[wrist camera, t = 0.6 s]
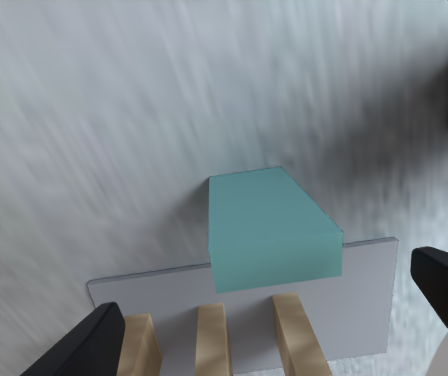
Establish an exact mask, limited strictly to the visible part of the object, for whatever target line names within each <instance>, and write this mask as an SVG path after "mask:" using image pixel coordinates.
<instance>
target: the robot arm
mask: <svg viewBox="0 0 448 376" xmlns="http://www.w3.org/2000/svg"><path fill="white" fill-rule="evenodd" d="M410 272H411V276H412V278H413V280H414V282H415V283H416V285H417V286H418V287H419V289H420V290H421V292H422V293H423V295H424V296H425V297H426V299H427V300H428V302H429V303H430V305H431V306H432V307H433V309H434V310H435V312H436V313H437V315H438V316H439V317H440V319H441V320H442V322H443V323H444V324H445V326H446V327H447V328H448V252H445V251H442V250H439V249H436V248H433V247H429V246H426V247H420V248H415V249H413V251H412V255H411V269H410ZM125 328H126V324H125V320H124V317H123V315H122V313H121V310H120V308H119V306H118V304H117V303H116V302H114V301H112V302H107V303H102V304H101V305H99V306H98V307H97V308H96V309H95V310H94V311H93V312H91V313H90V314H89V315H88V316H87V317H86V318H85V319H83V320H82V321H81V322H80V323H79V324H78V325H77V326H76V327H74V328H73V329H72V330H71V331H70V332H69V333H68V334H66V335H65V336H64V337H63V338H62V339H61V340H60V341H59V342H57V343H56V344H55V345H54V346H53V347H52V348H51V349H49V350H48V351H47V352H46V353H45V354H44V355H43V356H42V357H40V358H39V359H38V360H37V361H36V362H35V363H34V364H32V365H31V366H30V367H29V368H28V369H27V370H26V371H24V372H23V373H22V374H21V375H20V376H117V371H118V366H119V360H120V355H121V350H122V344H123V339H124V334H125Z"/></svg>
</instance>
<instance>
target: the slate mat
mask: <svg viewBox="0 0 448 376" xmlns="http://www.w3.org/2000/svg"><path fill="white" fill-rule="evenodd" d="M398 242H399V240H398V239H396V238H395V237H391V238H384V239H377V240H370V241H363V242H356V243H349V244H343V249H342V276H337V277H330V278H323V279H316V280H309V281H302V282H295V283H288V284H281V285H274V286H267V287H260V288H253V289H246V290H239V291H232V292H225V293H218V294H216V290H215V285H214V279H213V274H212V268H211V263H210V264H203V265H196V266H189V267H182V268H175V269H168V270H161V271H154V272H147V273H140V274H133V275H126V276H119V277H112V278H105V279H98V280H91V281H89V283H88V284H87V287H88V289H89V292H90V294H91V297H92V299H93V302H94V304H95V307H96V308H97V307H98V306H99V305H101V304H102V303H107V302H112V301H114V302H116V303H117V304H118V306H119V308H120V310H121V313H122V315H123V317H124V318H125V316H131V315H138V314H145V313H150V316H151V319H152V323H153V326H154V329H155V333H156V336H157V339H158V342H159V346H160V349H161V352H162V356H163V358H162V364H161V369H160V375H159V376H195V360H196V342H197V324H198V306H200V305H207V304H214V303H221V302H223V305H224V311H225V317H226V322H227V328H228V334H229V340H230V345H231V356H232V369H233V374H240V373H247V372H254V371H261V370H268V369H275V368H282V367H283V365H282V361H281V357H280V353H279V350H278V346H277V342H276V334H275V323H274V312H273V301H272V295H277V294H284V293H291V292H297V294H298V296H299V299H300V301H301V303H302V306H303V308H304V310H305V313H306V315H307V317H308V319H309V322H310V324H311V326H312V329H313V331H314V333H315V336H316V338H317V340H318V343H319V345H320V347H321V350H322V352H323V354H324V357H325V359H326V361H330V360H337V359H344V358H351V357H358V356H365V355H372V354H379V353H386V349H387V340H388V331H389V322H390V314H391V305H392V296H393V287H394V278H395V269H396V260H397V251H398Z"/></svg>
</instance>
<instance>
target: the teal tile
mask: <svg viewBox="0 0 448 376" xmlns="http://www.w3.org/2000/svg"><path fill="white" fill-rule="evenodd" d="M342 249H343V231H342V230H341V229H340V228H339V227H338V226H337V225H336V224H335V223H334V222H333V221H332V219H331V218H330V217H329V216H328V215H327V214H326V213H325V212H324V211H323V210H322V209H321V208H320V207H319V206H318V205H317V204H316V203H315V202H314V201H313V199H312V198H311V197H310V196H309V195H308V194H307V193H306V192H305V191H304V190H303V189H302V188H301V187H300V186H299V185H298V184H297V183H296V182H295V181H294V179H293V178H292V177H291V176H290V175H289V174H288V173H287V172H286V171H285V170H284V169H283V168H282V167H274V168H267V169H260V170H253V171H246V172H239V173H232V174H225V175H218V176H211V177H209V236H208V252H209V257H210V263H211V268H212V274H213V279H214V285H215V290H216V294H218V293H225V292H232V291H239V290H246V289H253V288H260V287H267V286H274V285H281V284H288V283H295V282H302V281H309V280H316V279H323V278H330V277H337V276H342Z"/></svg>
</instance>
